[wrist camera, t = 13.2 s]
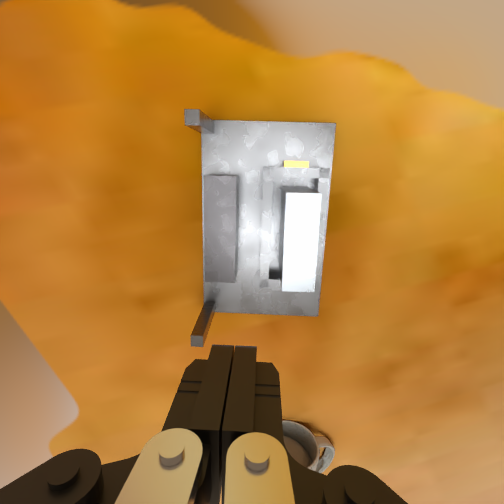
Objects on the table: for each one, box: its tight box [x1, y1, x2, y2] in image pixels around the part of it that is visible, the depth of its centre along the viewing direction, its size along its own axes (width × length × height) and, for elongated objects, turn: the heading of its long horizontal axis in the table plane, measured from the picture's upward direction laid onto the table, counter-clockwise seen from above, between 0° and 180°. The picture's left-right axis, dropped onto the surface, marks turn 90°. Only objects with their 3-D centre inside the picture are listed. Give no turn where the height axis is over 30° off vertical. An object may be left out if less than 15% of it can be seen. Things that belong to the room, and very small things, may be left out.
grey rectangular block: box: [278, 186, 322, 292], centre depth 32 cm, size 3×9×8 cm, turn 179°
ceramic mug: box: [282, 420, 335, 473], centre depth 42 cm, size 11×8×8 cm
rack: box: [185, 109, 336, 347], centre depth 32 cm, size 14×22×9 cm, turn 178°
